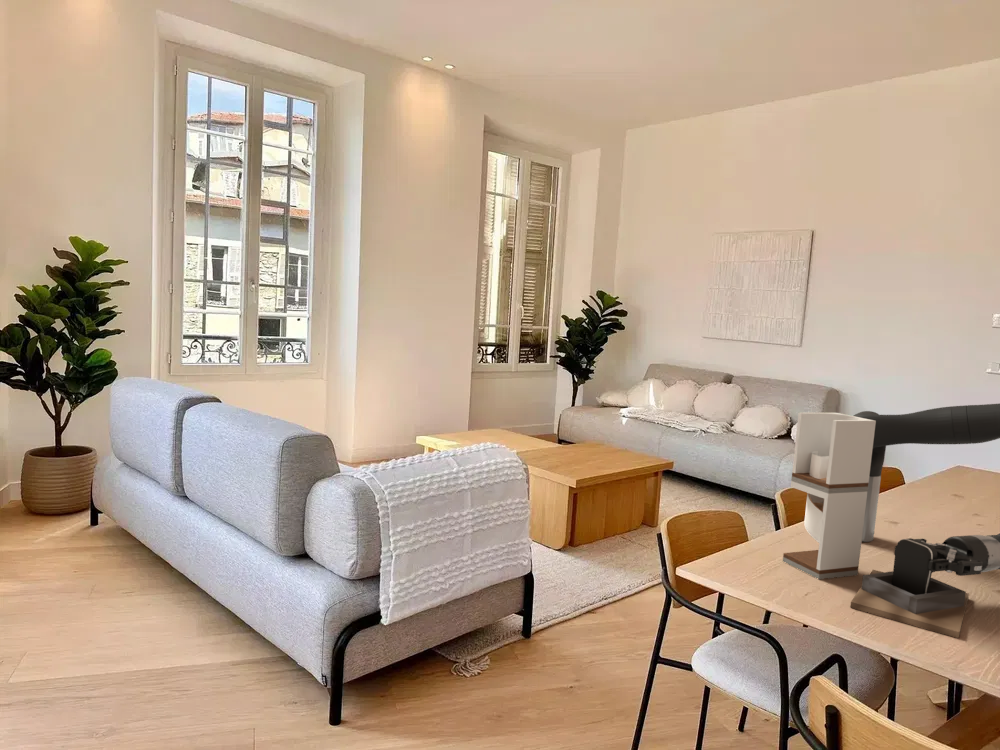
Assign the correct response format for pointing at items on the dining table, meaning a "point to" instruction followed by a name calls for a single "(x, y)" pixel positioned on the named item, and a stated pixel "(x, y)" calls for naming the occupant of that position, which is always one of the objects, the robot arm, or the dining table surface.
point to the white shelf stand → (832, 490)
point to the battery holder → (913, 603)
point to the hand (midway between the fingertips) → (912, 558)
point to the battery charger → (913, 566)
